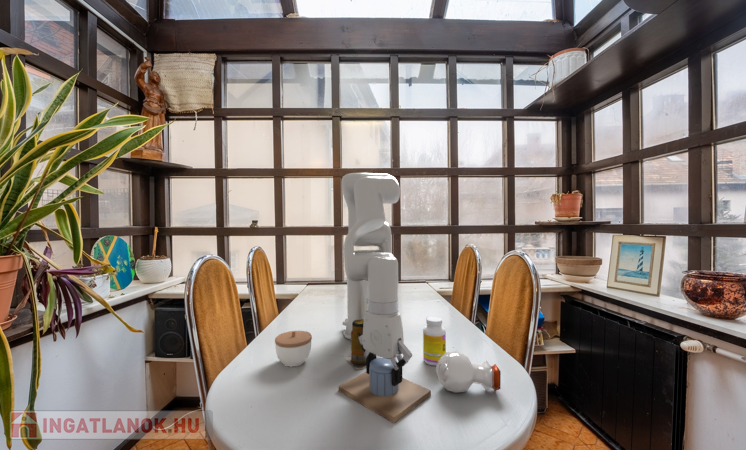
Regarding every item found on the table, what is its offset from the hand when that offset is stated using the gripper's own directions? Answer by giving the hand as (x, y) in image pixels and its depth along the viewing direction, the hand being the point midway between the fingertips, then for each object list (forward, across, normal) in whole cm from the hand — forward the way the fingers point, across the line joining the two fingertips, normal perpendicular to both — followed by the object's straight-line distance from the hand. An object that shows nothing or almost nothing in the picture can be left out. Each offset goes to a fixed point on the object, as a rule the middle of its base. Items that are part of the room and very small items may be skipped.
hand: (383, 377), depth 75 cm
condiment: (+4, -16, +8) cm, 18 cm away
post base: (+4, 0, 0) cm, 4 cm away
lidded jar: (+4, -31, -6) cm, 32 cm away
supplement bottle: (+4, 0, +23) cm, 23 cm away
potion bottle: (+4, +14, +15) cm, 21 cm away
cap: (+3, 0, 0) cm, 3 cm away
